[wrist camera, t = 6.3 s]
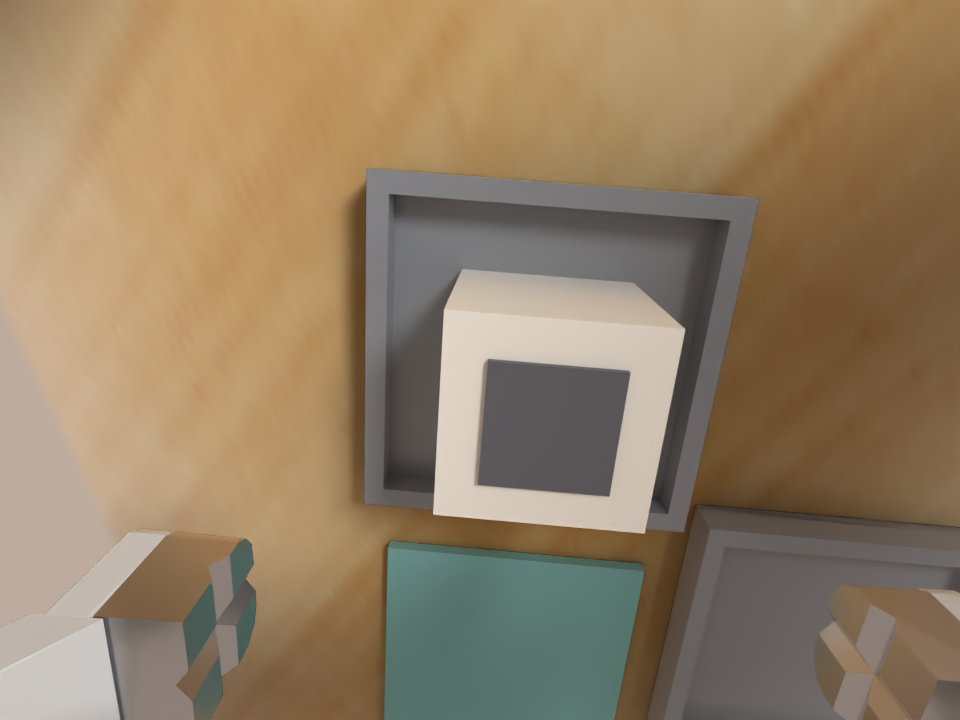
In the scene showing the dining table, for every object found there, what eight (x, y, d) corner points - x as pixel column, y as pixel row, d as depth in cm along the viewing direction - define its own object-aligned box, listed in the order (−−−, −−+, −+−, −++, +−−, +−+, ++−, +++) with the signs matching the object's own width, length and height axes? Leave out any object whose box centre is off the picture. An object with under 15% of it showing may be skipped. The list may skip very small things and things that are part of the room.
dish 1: (738, 196, 16) (759, 198, 14) (671, 507, 19) (683, 532, 18) (377, 168, 16) (366, 168, 15) (374, 480, 19) (364, 503, 18)
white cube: (638, 282, 16) (694, 331, 11) (612, 437, 18) (652, 538, 13) (462, 269, 16) (443, 311, 11) (452, 423, 18) (432, 518, 13)
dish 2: (1001, 531, 19) (1039, 558, 17) (904, 749, 22) (929, 786, 21) (696, 504, 19) (710, 529, 18) (645, 724, 22) (654, 759, 21)
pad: (642, 563, 20) (644, 571, 19) (605, 745, 23) (606, 755, 22) (390, 541, 20) (387, 547, 20) (385, 724, 23) (383, 733, 23)
